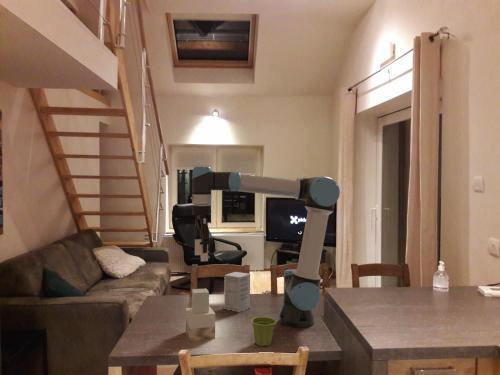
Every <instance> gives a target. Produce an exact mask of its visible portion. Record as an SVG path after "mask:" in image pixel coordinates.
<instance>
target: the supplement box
mask: <svg viewBox="0 0 500 375" xmlns="http://www.w3.org/2000/svg"><path fill="white" fill-rule="evenodd" d="M248 308H249V309H250V308H251V274H250V273H247V272H239V271H232V272H231V273H226V274H225V275H224V310H225V309H227V310H226V311H230V310H232V311H231V312H235V311H238V312H237V313H242V312H244V311H246V310H248ZM241 311H242V312H241Z"/></svg>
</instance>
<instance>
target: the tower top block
mask: <svg viewBox="0 0 500 375" xmlns="http://www.w3.org/2000/svg"><path fill="white" fill-rule="evenodd" d="M186 322H187V324H188V326H189V328H190V329H195V328H205V327H215V328H216V312H214V309H212V307H211V306H210V305H209V313H195V314H194V313H193V311H192V307H186V308H185V323H186Z"/></svg>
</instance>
